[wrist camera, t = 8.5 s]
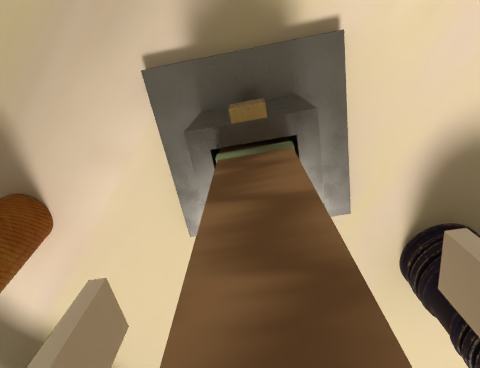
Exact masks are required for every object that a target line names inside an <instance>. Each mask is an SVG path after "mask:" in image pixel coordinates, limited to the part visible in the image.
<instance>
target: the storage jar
mask: <svg viewBox="0 0 480 368" xmlns="http://www.w3.org/2000/svg"><path fill="white" fill-rule="evenodd" d="M462 228H467V229H469V230H470V231H471V232H472V233H474V234H475V235H476V236H478V237H479V238H480V235H478V234H477V233H476V232H475V231H474V230H472V229H470V228H469V227H466V226H464V225H460V224H442V225H437V226H434V227H431V228H428V229H426V230H424V231H422V232H421V233H419V234H418V235H416V236H415V237H414V238H413V239H412V240H411V241H410V242H409V243H408V244H407V245H406V247H405V248H404V250H403V252H402V254H401V257H400V270H401V273H402V275H403V276H404V278H405V279H406V280H407V281H408V282H409V284H410V286H411V288H412V290H413V292H414V293H415V294H416V296H417V297H418V299H419V300H420V301H421V302H422V304H423V306H424V307H425V308H426V309H427V310H428V311H429V312H430V313H431V314H432V315H433V316H434V317H436V318H437V319H438V320H439V322H440V323H441V324H442V326H443V327H444V328H445V330H446V331H447V332H448V334H449V335H450V339H451V342H452V344H453V345H454V347H455V350H456V351H457V352H458V354H459V355H460V356H461V357H462V358H463V360H464V362H465V363H466V364H467V366H468V367H469V368H480V338H479V337H478V335H477V334H476V333H475V332H474V331H473V329H472V328H471V327H470V326H469V325H468V323H467V322H466V321H465V320H464V319H463V318H462V316H461V315H460V314H459V313H458V312H457V310H456V309H455V308H454V307H453V306H452V304H451V303H450V302H449V301H448V300H447V299H446V297H445V296H444V295H443V294H442V293H441V291H440V290H439V289H438V284H439V275H440V266H441V257H442V248H443V240H444V231H448V230H455V229H462Z"/></svg>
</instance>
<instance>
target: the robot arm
mask: <svg viewBox="0 0 480 368" xmlns="http://www.w3.org/2000/svg"><path fill="white" fill-rule="evenodd" d="M438 289H439V290H440V291H441V293H442V294H443V295H444V296H445V297H446V299H447V300H448V301H449V302H450V303H451V304H452V306H453V307H454V308H455V309H456V310H457V312H458V313H459V314H460V315H461V316H462V318H463V319H464V320H465V321H466V322H467V323H468V325H469V326H470V327H471V328H472V329H473V331H474V332H475V333H476V334H477V335H478V337H479V338H480V238H479V237H478V236H476V235H475V234H474V233H472V232H471V231H470V230H469V229H467V228H462V229H455V230H448V231H444V240H443V248H442V257H441V266H440V275H439V284H438ZM128 327H129V326H128V324H127V322H126V319H125V317H124V315H123V313H122V311H121V309H120V306H119V304H118V302H117V300H116V298H115V296H114V293H113V291H112V289H111V287H110V285H109V283H108V281H107V278H102V279H95V280H88V282H87V283H86V285H85V286H84V288H83V289H82V290H81V292H80V293H79V295H78V296H77V297H76V299H75V300H74V302H73V303H72V304H71V306H70V307H69V309H68V310H67V312H66V313H65V314H64V316H63V317H62V319H61V320H60V321H59V323H58V324H57V326H56V327H55V328H54V330H53V331H52V333H51V334H50V335H49V337H48V338H47V340H46V341H45V343H44V344H43V345H42V347H41V348H40V350H39V351H38V352H37V354H36V355H35V357H34V358H33V359H32V361H31V362H30V364H29V365H28V366H27V368H111V366H112V364H113V361H114V359H115V357H116V354H117V352H118V350H119V348H120V345H121V343H122V341H123V338H124V336H125V334H126V331H127V329H128Z"/></svg>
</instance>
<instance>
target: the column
mask: <svg viewBox="0 0 480 368" xmlns="http://www.w3.org/2000/svg"><path fill="white" fill-rule="evenodd" d="M160 368H412V366H411V364H410V363H409V361H408V359H407V357H406V355H405V353H404V351H403V350H402V348H401V346H400V344H399V342H398V340H397V339H396V337H395V335H394V333H393V331H392V329H391V328H390V326H389V324H388V322H387V320H386V318H385V316H384V315H383V313H382V311H381V309H380V307H379V305H378V304H377V302H376V300H375V298H374V296H373V294H372V293H371V291H370V289H369V287H368V285H367V283H366V281H365V280H364V278H363V276H362V274H361V272H360V270H359V269H358V267H357V265H356V263H355V261H354V259H353V258H352V256H351V254H350V252H349V250H348V248H347V247H346V245H345V243H344V241H343V239H342V237H341V235H340V234H339V232H338V230H337V228H336V226H335V224H334V223H333V221H332V219H331V217H330V215H329V213H328V212H327V210H326V208H325V206H324V204H323V202H322V200H321V199H320V197H319V195H318V193H317V191H316V189H315V188H314V186H313V184H312V182H311V180H310V178H309V177H308V175H307V173H306V171H305V169H304V167H303V166H302V164H301V162H300V160H299V158H298V156H297V154H296V153H295V149H294V145H293V143H292V141H289V140H288V138H287V136H286V137H281V138H275V139H269V140H263V141H258V142H252V143H246V144H240V145H235V146H229V147H223V148H221V149H220V152H219V153H218V154H217V156H216V167H215V170H214V174H213V178H212V181H211V185H210V188H209V192H208V196H207V199H206V203H205V207H204V210H203V214H202V217H201V221H200V225H199V228H198V232H197V235H196V239H195V243H194V246H193V250H192V254H191V257H190V261H189V264H188V268H187V272H186V275H185V279H184V282H183V286H182V290H181V293H180V297H179V301H178V304H177V308H176V311H175V315H174V319H173V322H172V326H171V329H170V333H169V337H168V340H167V344H166V348H165V351H164V355H163V358H162V362H161V366H160Z"/></svg>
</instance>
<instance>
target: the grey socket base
mask: <svg viewBox="0 0 480 368" xmlns="http://www.w3.org/2000/svg"><path fill="white" fill-rule="evenodd" d="M141 72H142V76H143V79H144V83H145V86H146V89H147V93H148V96H149V99H150V103H151V106H152V110H153V113H154V116H155V120H156V123H157V126H158V130H159V133H160V137H161V140H162V143H163V147H164V150H165V153H166V157H167V160H168V164H169V167H170V170H171V174H172V177H173V180H174V184H175V187H176V191H177V194H178V197H179V201H180V204H181V207H182V211H183V214H184V218H185V221H186V224H187V228H188V231H189V234H190V237H195V236H196V235H197V232H198V228H199V225H200V221H201V217H202V214H203V210H204V207H205V203H206V199H207V196H208V192H209V188H210V185H211V181H212V178H213V174H214V170H215V167H216V156H217V154H218V153H219V152H220V149H221V148H223V147H229V146H235V145H240V144H246V143H252V142H258V141H263V140H269V139H275V138H281V137H286V136H287V138H288V140H289V141H292V143H293V145H294V149H295V153H296V154H297V156H298V158H299V160H300V162H301V164H302V166H303V167H304V169H305V171H306V173H307V175H308V177H309V178H310V180H311V182H312V184H313V186H314V188H315V189H316V191H317V193H318V195H319V197H320V199H321V200H322V202H323V204H324V206H325V208H326V210H327V212H328V213H329V215H330V216H337V215H344V214H351V211H350V183H349V156H348V128H347V101H346V73H345V46H344V30H339V31H334V32H329V33H324V34H319V35H314V36H310V37H305V38H300V39H295V40H290V41H285V42H280V43H275V44H270V45H265V46H260V47H255V48H250V49H245V50H240V51H235V52H230V53H225V54H221V55H216V56H211V57H206V58H201V59H196V60H191V61H186V62H181V63H176V64H171V65H166V66H161V67H156V68H151V69H146V70H141Z"/></svg>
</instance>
